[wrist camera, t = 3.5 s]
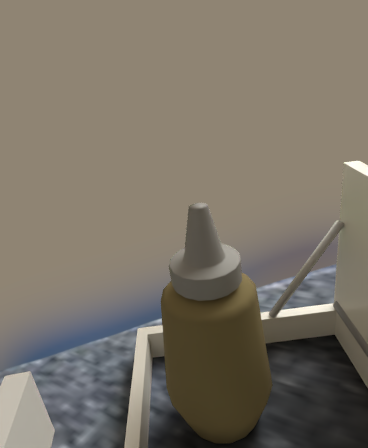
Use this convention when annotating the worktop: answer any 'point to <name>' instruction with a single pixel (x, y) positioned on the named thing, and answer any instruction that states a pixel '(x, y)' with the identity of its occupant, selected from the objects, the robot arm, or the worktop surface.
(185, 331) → the squeeze bottle
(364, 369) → the access hatch
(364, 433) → the worktop surface
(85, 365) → the worktop surface
